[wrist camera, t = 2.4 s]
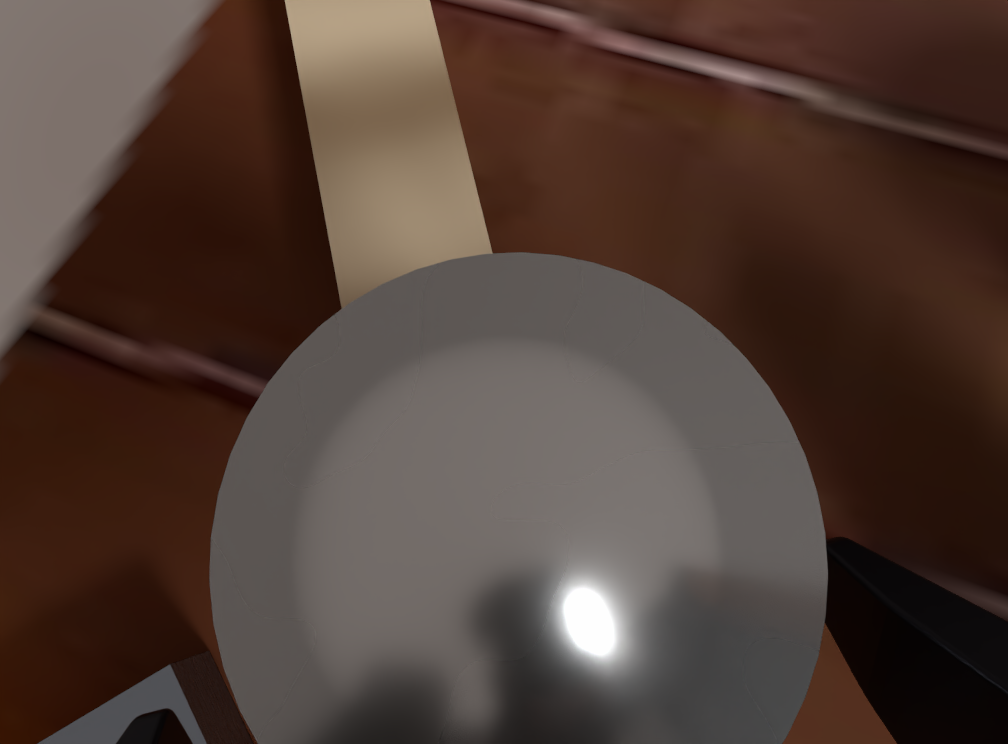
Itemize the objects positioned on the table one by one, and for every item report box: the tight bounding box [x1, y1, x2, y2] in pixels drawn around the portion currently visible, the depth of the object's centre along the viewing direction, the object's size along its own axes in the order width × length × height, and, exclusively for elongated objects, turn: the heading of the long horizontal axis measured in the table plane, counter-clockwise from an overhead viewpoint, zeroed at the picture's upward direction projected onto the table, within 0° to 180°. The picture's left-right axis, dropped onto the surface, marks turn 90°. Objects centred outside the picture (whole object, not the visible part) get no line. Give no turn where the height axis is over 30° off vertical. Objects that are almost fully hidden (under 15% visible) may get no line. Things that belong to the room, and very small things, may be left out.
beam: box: [285, 0, 493, 308], centre depth 20 cm, size 12×4×3 cm, turn 13°
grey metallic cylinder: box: [209, 252, 828, 744], centre depth 12 cm, size 5×5×14 cm
